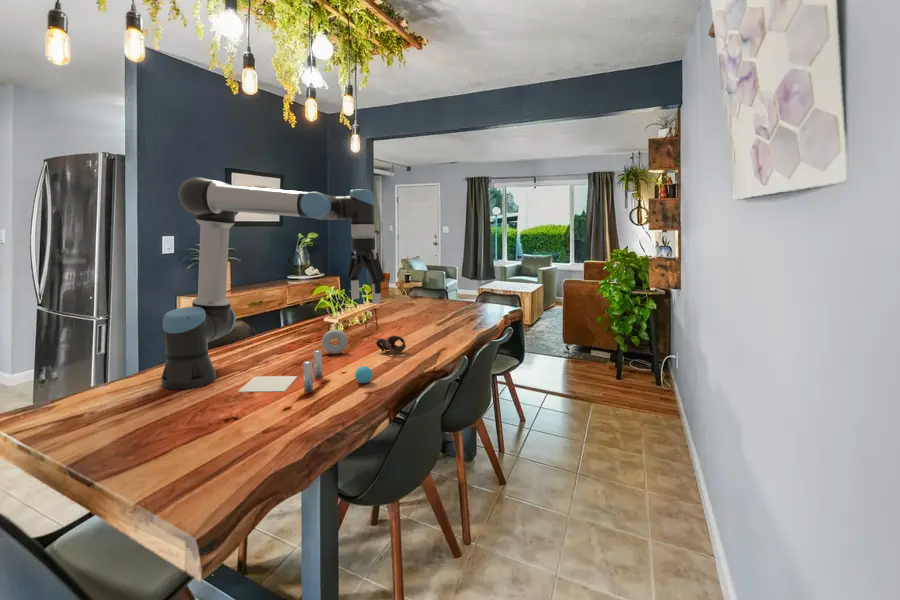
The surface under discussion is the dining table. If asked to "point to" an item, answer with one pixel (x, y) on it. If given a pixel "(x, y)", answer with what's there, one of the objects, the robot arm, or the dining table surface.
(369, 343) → the dining table surface
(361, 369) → the ball
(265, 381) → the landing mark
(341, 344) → the donut
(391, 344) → the dark brown looped sculpture
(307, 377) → the post
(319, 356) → the post
